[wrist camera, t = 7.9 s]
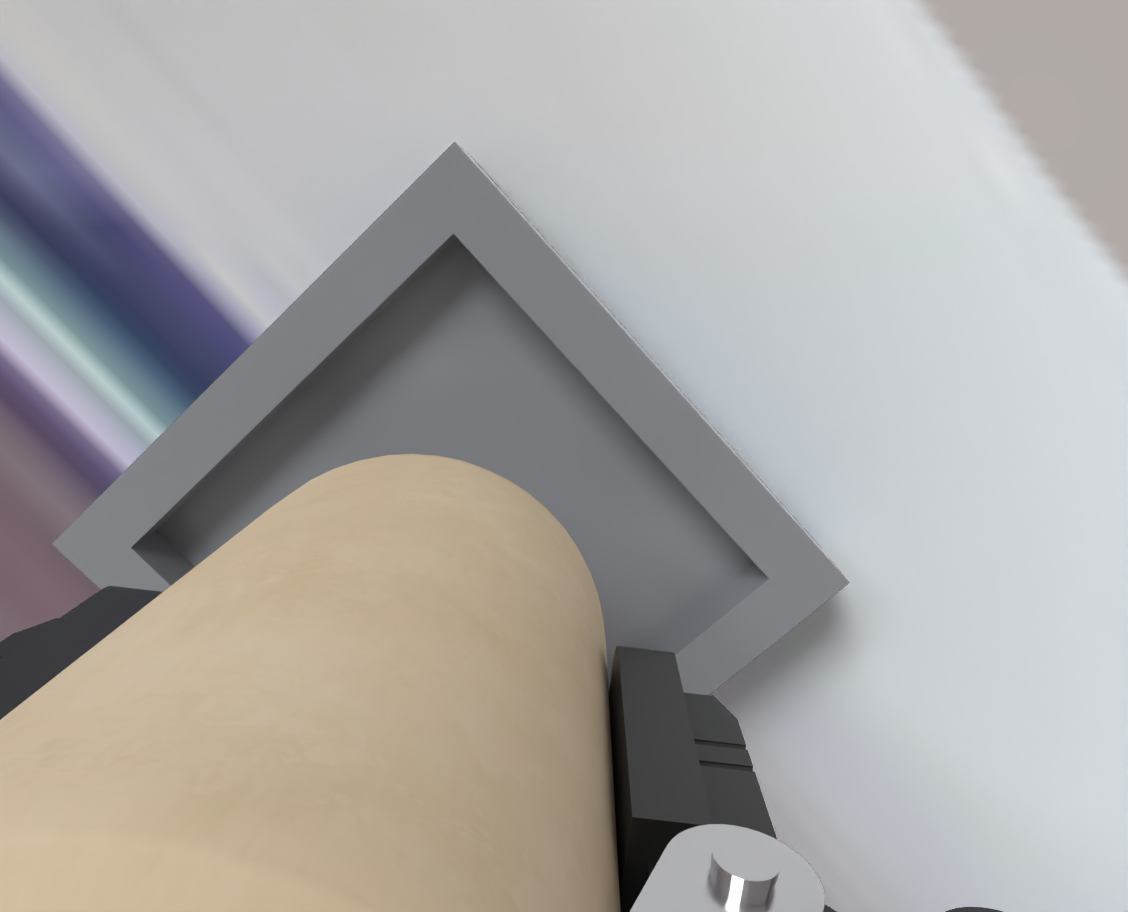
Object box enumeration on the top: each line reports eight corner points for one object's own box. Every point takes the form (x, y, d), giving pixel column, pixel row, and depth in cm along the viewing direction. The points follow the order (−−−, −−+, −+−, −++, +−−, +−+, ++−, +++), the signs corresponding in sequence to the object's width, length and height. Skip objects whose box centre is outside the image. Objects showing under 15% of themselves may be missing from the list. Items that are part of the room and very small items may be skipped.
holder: (110, 512, 18) (51, 543, 16) (470, 156, 16) (454, 141, 14) (457, 841, 19) (443, 907, 17) (820, 546, 17) (849, 582, 15)
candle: (188, 717, 13) (-861, 1923, 4) (305, 388, 12) (-771, 875, 3) (521, 844, 14) (368, 2255, 4) (665, 535, 13) (936, 1470, 3)
